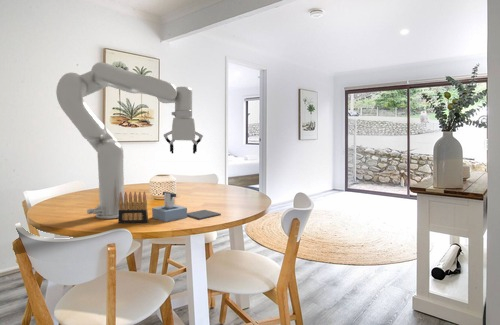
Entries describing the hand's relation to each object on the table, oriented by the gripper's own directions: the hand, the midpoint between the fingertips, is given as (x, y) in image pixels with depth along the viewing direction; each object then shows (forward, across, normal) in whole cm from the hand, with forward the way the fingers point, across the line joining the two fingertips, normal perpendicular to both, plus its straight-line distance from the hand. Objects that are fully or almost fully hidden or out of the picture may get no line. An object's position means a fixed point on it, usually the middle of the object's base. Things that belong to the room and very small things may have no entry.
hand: (183, 153), depth 142 cm
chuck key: (+26, -6, -14) cm, 30 cm away
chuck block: (+26, -6, -14) cm, 30 cm away
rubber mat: (+26, +7, -13) cm, 29 cm away
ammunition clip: (+26, -20, -18) cm, 38 cm away
